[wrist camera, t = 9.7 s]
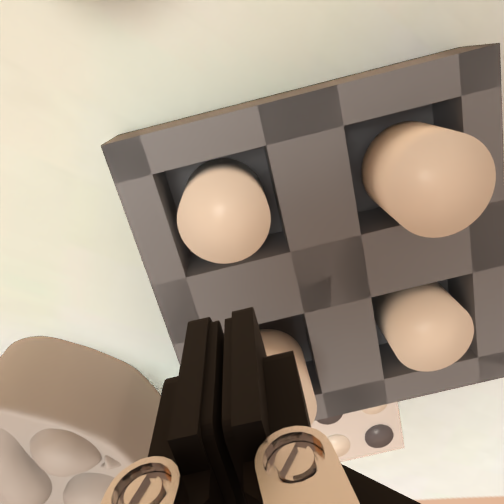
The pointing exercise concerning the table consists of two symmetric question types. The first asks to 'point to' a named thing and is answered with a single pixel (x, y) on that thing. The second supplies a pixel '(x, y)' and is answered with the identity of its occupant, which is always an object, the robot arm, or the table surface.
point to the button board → (328, 223)
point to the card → (363, 431)
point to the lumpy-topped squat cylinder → (69, 421)
